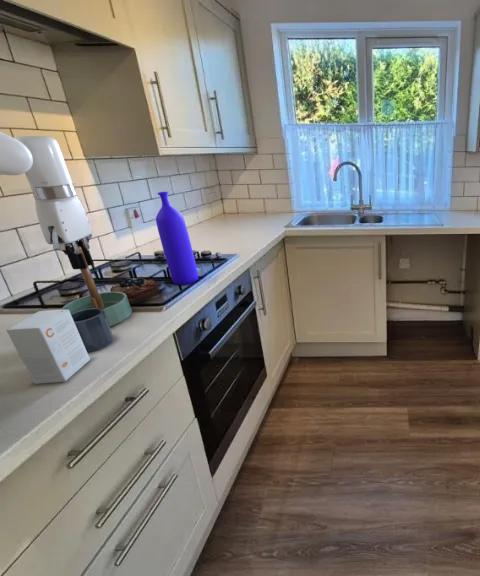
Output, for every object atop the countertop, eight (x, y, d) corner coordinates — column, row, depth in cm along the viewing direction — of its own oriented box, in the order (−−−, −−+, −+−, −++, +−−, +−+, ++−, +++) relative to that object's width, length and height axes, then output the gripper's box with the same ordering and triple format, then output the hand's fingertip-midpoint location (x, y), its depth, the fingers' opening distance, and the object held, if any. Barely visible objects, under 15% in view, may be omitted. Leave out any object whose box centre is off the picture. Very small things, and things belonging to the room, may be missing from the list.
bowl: (55, 335, 92) (47, 316, 90) (91, 310, 105) (84, 293, 103) (114, 331, 94) (107, 312, 91) (142, 307, 106) (136, 290, 104)
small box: (62, 361, 82) (38, 310, 76) (91, 359, 82) (69, 308, 77) (32, 384, 74) (4, 329, 69) (65, 382, 74) (39, 327, 69)
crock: (68, 353, 84) (55, 323, 81) (89, 337, 91) (77, 309, 88) (102, 351, 85) (90, 321, 82) (120, 335, 92) (109, 307, 89)
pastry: (129, 306, 107) (123, 288, 105) (106, 299, 112) (100, 281, 110) (164, 292, 116) (159, 275, 114) (142, 286, 121) (137, 270, 119)
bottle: (174, 287, 120) (148, 195, 108) (171, 279, 126) (146, 192, 114) (201, 281, 124) (179, 192, 112) (196, 274, 130) (175, 189, 118)
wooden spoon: (94, 316, 96) (67, 247, 88) (101, 310, 98) (76, 244, 91) (101, 315, 96) (75, 247, 88) (108, 310, 99) (83, 243, 91)
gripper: (62, 188, 91) (88, 257, 99) (9, 200, 77) (44, 279, 84) (93, 187, 92) (117, 256, 99) (47, 198, 77) (78, 277, 85)
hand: (83, 266), depth 92 cm, fingers closed on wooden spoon, 1 cm apart
